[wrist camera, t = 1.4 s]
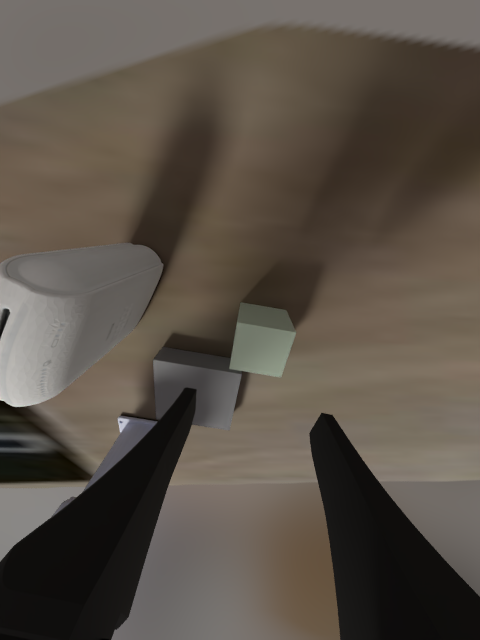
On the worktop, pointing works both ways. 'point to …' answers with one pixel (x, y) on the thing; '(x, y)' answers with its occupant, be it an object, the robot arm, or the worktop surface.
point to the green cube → (262, 340)
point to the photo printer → (68, 314)
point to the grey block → (197, 385)
